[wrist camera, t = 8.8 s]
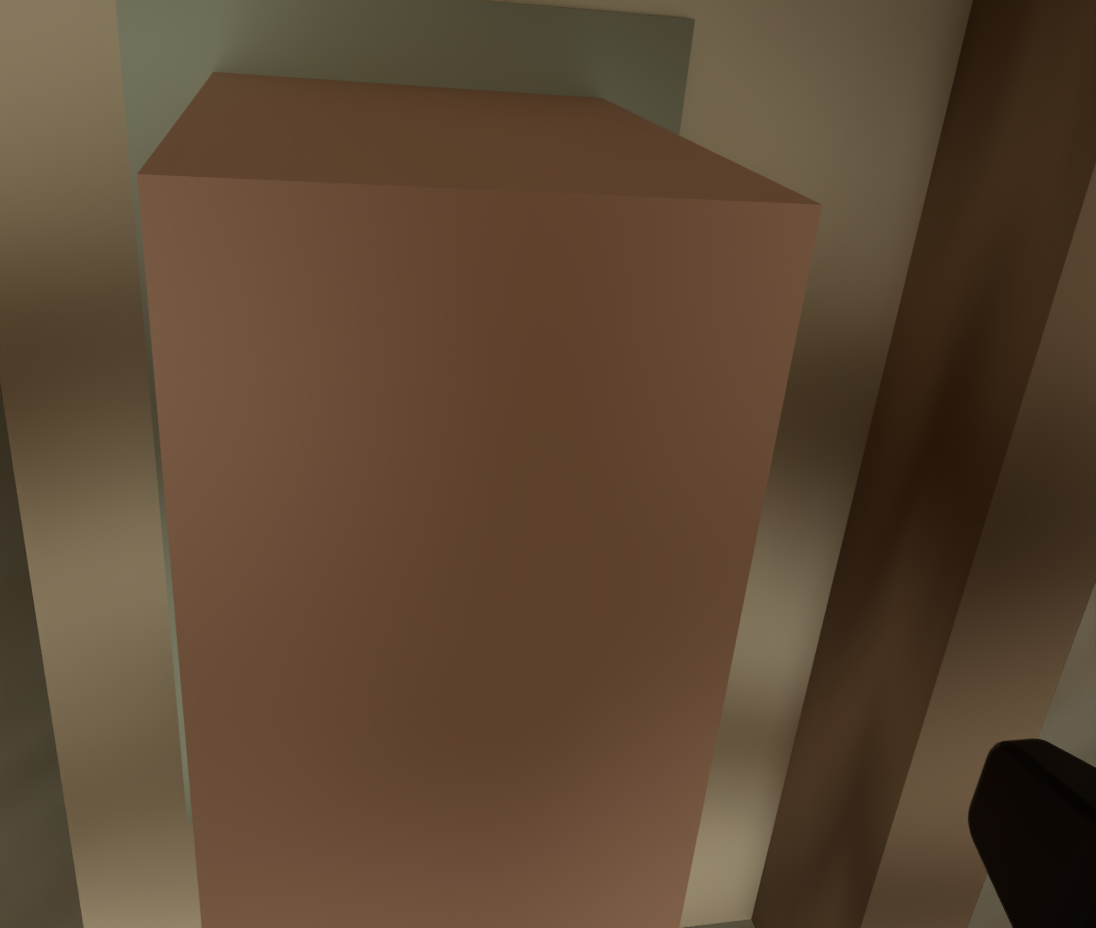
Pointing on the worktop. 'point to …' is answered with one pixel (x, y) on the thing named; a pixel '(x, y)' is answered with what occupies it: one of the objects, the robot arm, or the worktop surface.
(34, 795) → the worktop surface
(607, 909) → the terracotta block
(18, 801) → the worktop surface
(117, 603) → the wooden structure
